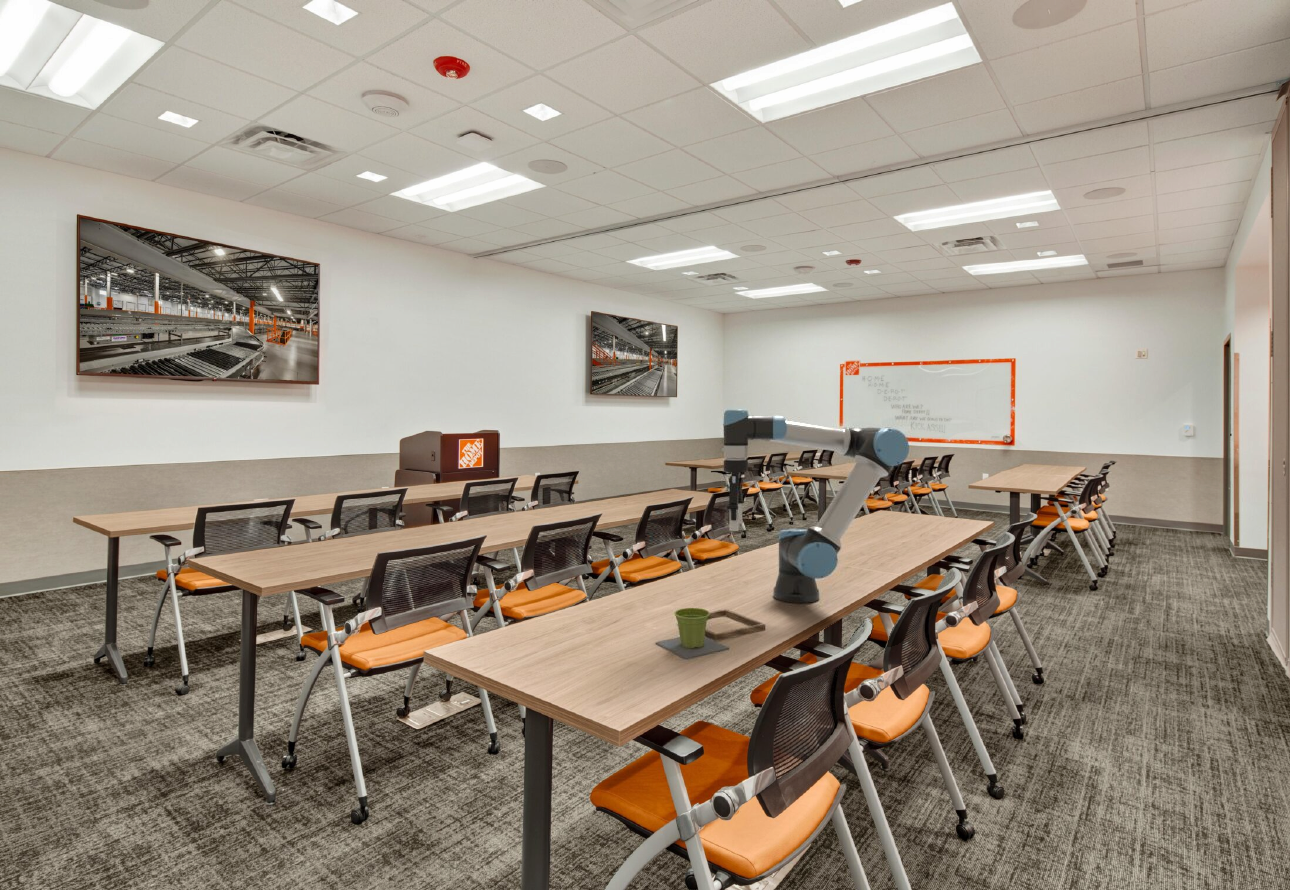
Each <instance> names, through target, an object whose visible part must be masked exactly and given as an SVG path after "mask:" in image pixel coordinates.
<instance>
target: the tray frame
mask: <svg viewBox="0 0 1290 890" xmlns="http://www.w3.org/2000/svg"><path fill="white" fill-rule="evenodd" d="M709 613H710V615H709V616H708V620H709V619H712V618H718V617H722V616H726V617H729V618H732V619H734V620H735V621H736V620H737V621H739V622H741V623H745V624H747V625H749V626H745V627H741V628H736V629H731V630H728V631H722V632H718V633H716V632H714V631H711V630H709V629H707V628H706V631H705V637H707V638H709V639H712V640H714V641H716V642H718V641H721V640H726V639H729V638H734V637H739V636H743V635H747V634H750V633H756V632H760V631H765V630H766V623H763V622H761V621H759V620H756V619H753V618H750V617H747V616H745V615H742V614H740V613H737V612H735V611H733V610H729V609H727V608H724V609H719V610H718V609H717V610H713V611H709Z"/></svg>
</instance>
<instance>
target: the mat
mask: <svg viewBox="0 0 1290 890" xmlns="http://www.w3.org/2000/svg"><path fill="white" fill-rule="evenodd" d="M655 644H656V645H657V646H660V647H661V648H663V649H664V650H666V651H669V652H671V653H672V654H674V655H676V656H677V657H680V658H682V659H684V660H685V661H686V660H690V659H694V658H698V657H703V656H706V655H710V654H714V653H719V652H722V651H723V652H724V651H727V650H730V647H729V646H727V645H724V644H722V643H720V642H718V641H715V640H713V639H711V638H708V637H706V636H705V639H704V645H703V646H702V647H700V648H698V647H694V648H685V647H683V646H682V645H681V642H680V636H678V637H677V636H676V637H673V638H669V639H665V640H660V641H655Z"/></svg>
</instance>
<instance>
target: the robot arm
mask: <svg viewBox="0 0 1290 890" xmlns="http://www.w3.org/2000/svg"><path fill="white" fill-rule="evenodd" d="M722 425H723V448H721V451H722V452H723V458H724V460H723V471H724V472H725V473H731V475H730V476H729V478H728V484H729V485H728V486H729V487H728V489H729V494H728V495H729V497H728V498H729V499H728V505H726V510H728V511H729V512H728V514H729V516H728V517H729V519H728V521H729V524H728V526H729V529H728V531H730V532H739V530H740V529H739V528H740V527H739V525H742V524H743V504H745V500H744V499H743V480H744V479H743V478H744V477H743V476H742V475H743V474H742V473H747V472H748V471H749V460H748V458H749V441H753V440H755V441H758V440H759V441H760V440H761V441H766V442H767V441H768V442H774V443H779V444H787V445H794V446H799V447H806V448H807V447H808V448H814V449H820V450H825V451H831V452H837V454H838V455H840V456H845V457H848V458H849V457H850V458H852V459H853V458H854V459H855V465H854V466H853V467H852V469H851V471H850V472H849V474H848V475H847V477H846V479H845V480H844V482H843V483H842V485H841V486H840V488H839V490H838V491H837V492H836V494H835V495H834V497H833V499H832V500H831V502H830V503H829V504H828V507H827V508H826V510H825V511H824V513H823V514H822V516H821V518H820V519H819V520H818V521H817V524H815V525H813V526H809V527H808V528H805V529H799V528H798V529H797V528H795V529H782V530H780V531H779V532H778V533H779V534H778V539H777V542H778V575H777V578H776V582H775V586H774V587H773V597H774V598H775V599H777V600H778V601H783V602H787V603H795V604H796V603H797V604H798V603H799V604H804V603H805V604H807V603H808V604H809V603H813V602H816V601H818V600H819V599H820V591H819V589H818V585H817V580H819V579H825V578H827V577H829V576H830V575H831V574H832V573H834V571H835V570H836V568H837V566H838V563H839V560H838V554H839V552H840V551H841V549H842V543H841V539H842V538H843V536H844V535H845V533H846V531H847V530H848V529H849V527H850V525H851V524H852V523H853V521H854V519H855V518H856V516H857V514H858V513H859V512H860V510H861V509H862V507H863V506H864V504H865V502H866V501H867V500H868V498H869V496H870V494H871V493H872V491H873V490H874V488H875V487H876V485H877V483H878V482H879V481H880V479H881V478H884V477H888V476H889V474H890V473H891V472H892V470H893V468H894V466H898V465H901V464H903V462H905V460H906V459H907V458H908V456H909V454H910V445H909V440H908V439H907V437H906V434H904V433H903V432H902V431H901V430H899V429H897V428H892V427H888V426H887V427H847V426H844V427H842V428H835V427H828V426H827V427H826V426H821V425H814V424H809V423H808V424H807V423H801V422H795V421H789V420H788V421H787V420H786V418H785V417H784V416H783V415H749V411H748V410H747V409H726V410H725V411H724V413H723V424H722Z"/></svg>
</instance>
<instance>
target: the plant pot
mask: <svg viewBox="0 0 1290 890" xmlns="http://www.w3.org/2000/svg"><path fill="white" fill-rule="evenodd" d="M709 612H710V611H708V610H706V609H704V608H699V607H698V608H697V607H685V608H680V609H677V610H675V611H674V614H673V615H674V616H675V618H676V621H677V626H678V632H679V637H680V642H681V645H682V646H683V647H685V648H694V647H698V648H700V647H702V646H703V645H704V639H705V637H706V636H705V631H706V629H707V622H708V620H709V619H708V616H709V615H710V613H709Z"/></svg>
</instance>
